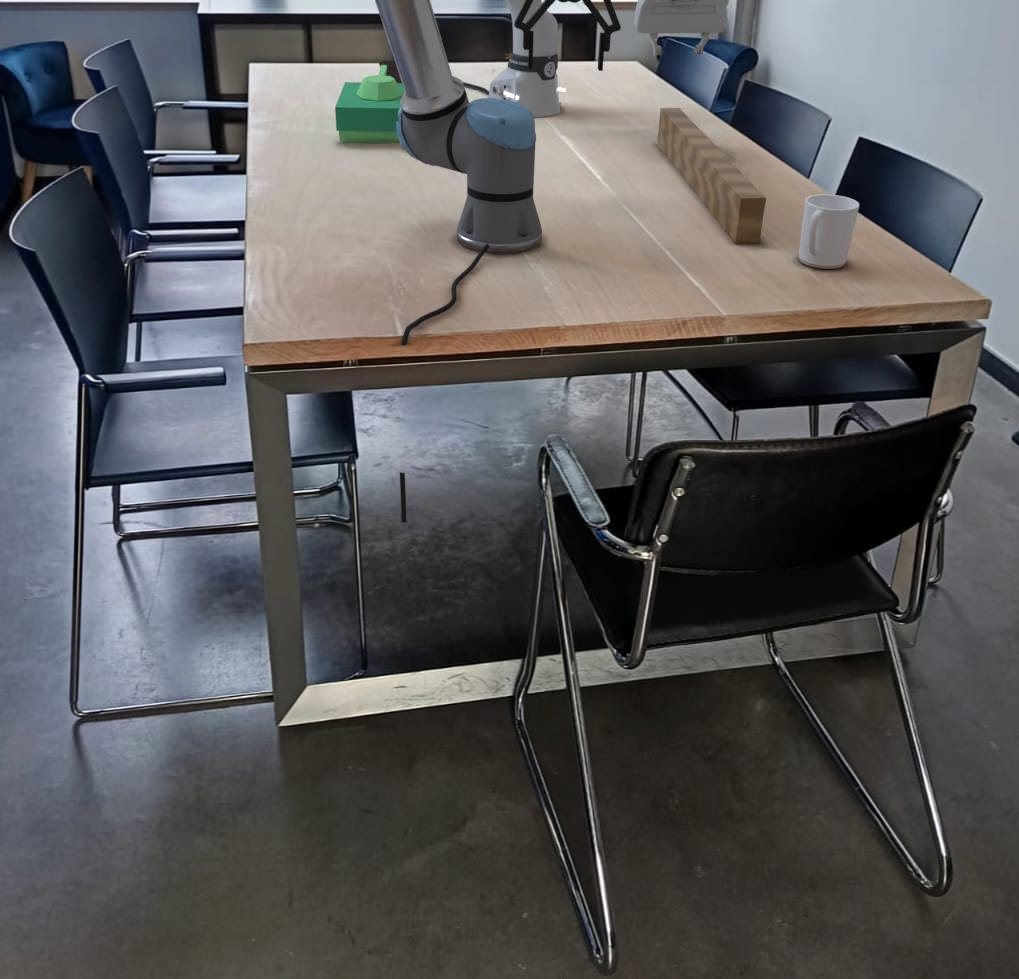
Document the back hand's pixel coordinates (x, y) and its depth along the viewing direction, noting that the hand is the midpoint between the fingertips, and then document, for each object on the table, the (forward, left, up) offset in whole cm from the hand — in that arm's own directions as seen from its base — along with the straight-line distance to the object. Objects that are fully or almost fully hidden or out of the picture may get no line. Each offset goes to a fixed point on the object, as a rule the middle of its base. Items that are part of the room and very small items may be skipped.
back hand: (677, 54), depth 242 cm
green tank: (-55, -42, -21) cm, 72 cm away
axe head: (-86, -13, -21) cm, 89 cm away
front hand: (+8, -42, +3) cm, 42 cm away
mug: (+68, -37, -21) cm, 80 cm away
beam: (+25, -18, -21) cm, 37 cm away
